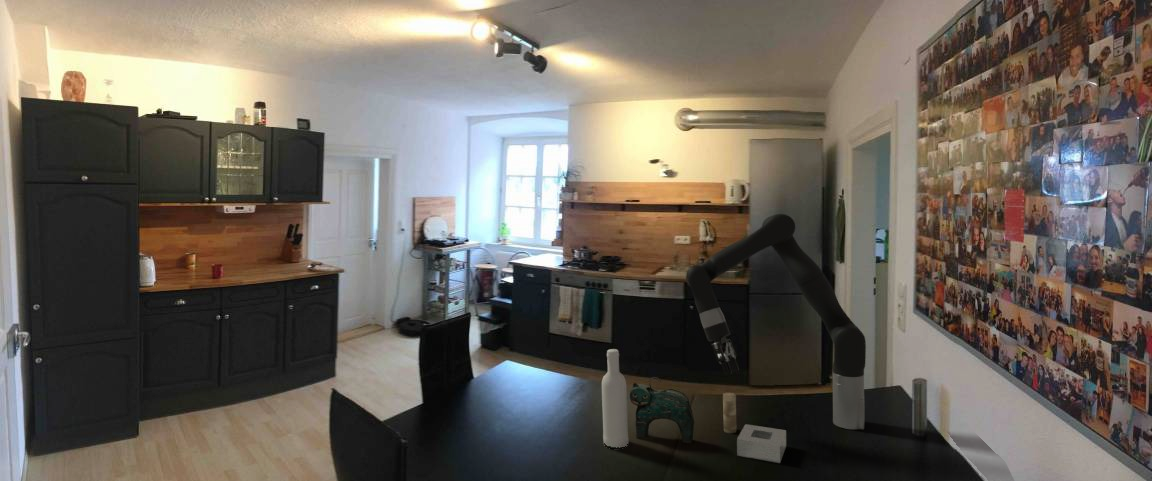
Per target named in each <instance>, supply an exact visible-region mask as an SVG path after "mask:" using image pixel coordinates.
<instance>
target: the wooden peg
mask: <svg viewBox="0 0 1152 481" xmlns="http://www.w3.org/2000/svg"><path fill="white" fill-rule="evenodd" d="M722 406H723V407H722V409H723V410H722V413H723V414H722V415H723V432H724V433H727V434H735V433H737V395H736V393H733V392H724V393H723V394H722Z"/></svg>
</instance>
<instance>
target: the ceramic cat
mask: <svg viewBox="0 0 1152 481" xmlns="http://www.w3.org/2000/svg"><path fill="white" fill-rule="evenodd" d="M653 379H656V380H658V381H659V382H660V383H661V379H660V378H659V377H655V376H653V377H651V378H650V379H649V385H647V384H644V383H639V384H637V383H636V382H634V383H633V385H632V389H631V391H630V392H629V400H630V402H631V403H632V404H633V405H634V406H637V408H636V409H635V422H634V423H635V432H636V434H635V435H636V437H638V438H637V439H641V438H645V439H646V437H647V438H648V435H649V428H650V425H651V423H652V422H653V421H656V420H664V419H665V420H669V421H673V422H674V423H676V425H677V426H678V429H679V431H680V435H681V442H682V443H684V444H692V442H693V439H694V430H695V418H694V413H693V410H692V406H691V404H690V399H689V398H688V396H687V395H686V393H685V392H683V391H682V390H678V389H674V388H667V389H663V390H656V389H653V388H652V386H651V385H652V384H651V380H653Z"/></svg>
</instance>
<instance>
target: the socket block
mask: <svg viewBox="0 0 1152 481" xmlns="http://www.w3.org/2000/svg"><path fill="white" fill-rule="evenodd" d="M786 448H787V429H786V430H785V429H779V428H773V427H765V426H758V425H753V424H744V426H743V427H742V429H741V431H740V432H739V434H738V436H737V438H736V453H737V454H736V455H737V456H738V457H743V458H749V459H754V460H759V461H766V462H771V463H775V464H776V463H777V464H781V463H782V462H781V461H782V459H783V456H784V453H785V451H786Z"/></svg>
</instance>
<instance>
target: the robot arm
mask: <svg viewBox="0 0 1152 481" xmlns="http://www.w3.org/2000/svg"><path fill="white" fill-rule="evenodd" d="M795 231H796V224H795V221H794V219H793V217H791V216H790V215H787V214H784V213H775V214H773V215H770V216H768V217H767V218H765V219H764V220H763V222H762V224H761V227H759V228H758V229H757V230H756V231H754V232H752V233H750V234H749V235H746V237H743V238H742V239H740V240H738V241H736V242H734V243H732V244H730V245H728V246H726V247H724V248H722V249H721V250H719V251H717V252H716V253H714V254H713V255H711V256H710V257H709V258H708V259H707V260H705V261H704V262H702V263H700V264H699V265H698V264H695V265H692V266H690V267H689V268H688V269H687V270H686V275H685V280H686V281H685V282H686V283H687V285H688V287H690V288H689V289H690V290H691V293H692V295H693V297H694V304H695V306H696V309H697V312H698V314H699V319H700V323H701V325H702V327H703V328H702V329H703V330H704V333H705V336H706V339H707V341H708V342H712V341H713V342H714V343H713V342H712V343H711V347H712V350H713V353H714V356H715V359H716V362H717V363H719V364H720V365H721V367H722V370H723V373H724V375H725V376H729V375H732V374H733V373H735V372H738V371H740V368H739V365H738V362H737V360H736V359H737V358H736V357H737V353H736V351H735V347H734V346H733V343H732V340H731V339H730V338H728V339H727V337H728V336H731V331H730V329H729V325H728V323H727V321H726V319H725V318H726V317H725V315H724V313H723V312H722V310H721V307H720V305H719V302H718V300H717V297H716V295H715V293H714V289H713V286H712V283H711V282H712V281H714V280H715V279H716V278H718V277H719V276H721V275H723V274H725V273H727V272H729V271H730V270H732V269H734V268H736V267H737V266H738V265H740V264H741V263H743V262H744V261H746V260H748V259H749V258H751V257H752V256H755V254H757V253H759V252H761V251H763V250H765V249H766V248H769V247H772V249H773V250H774V251H775V253H776V254H777V255H778V257H779V258H780V259H781V261H782V263H783V264H784V266H785V268H786V270H787V272H788V273H789V275H790V278H792V280H793V282H794V283H795V285H796V287H797V289H798V290H799V291H800V293H801V295H802V296H803V297H804V299H805V300H806V302H807V303H808V304H809V305H810V306H811V308H812V309H813V310H814V311H815V312H816V313H817V314H818V316H819V318H820V319H821V320H822V322H823V324H824V326H825V328H826V331H828V334H829V336H830V338H831V341H832V343H833V363H832V423H833V424H834V425H835V426H836V427H839V428H843V429H846V430H864V429H865V367H866V352H867V351H866V349H867V346H866V345H867V344H866V336H865V335H864V333H863V332H862V331H861V330H860V328H859V327H858V326H857V325H856V324H855V323H854V322H853V321H852V319H850V317H849V315H848V314H847V313H846V312H845V311H844V309H843V308H842V306H841V305H840V302H839V301H838V297H837V295H836V293H835V291H834V288H833V287H832V285H831V283H830V281H829V279H828V278H827V276H826V275H825V274H824V272H823V270H822V269H821V268H820V266H819V265H818V264H817V263H816V262H815V261H814V260H813V259H812V258H811V257H810V256H809V255H808V254H807V253H806V252H805V251H804V250H803V249H802V248H801V247H800V245H799V244H798V242H797V240H796V238H795V237H794V233H795Z"/></svg>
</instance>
